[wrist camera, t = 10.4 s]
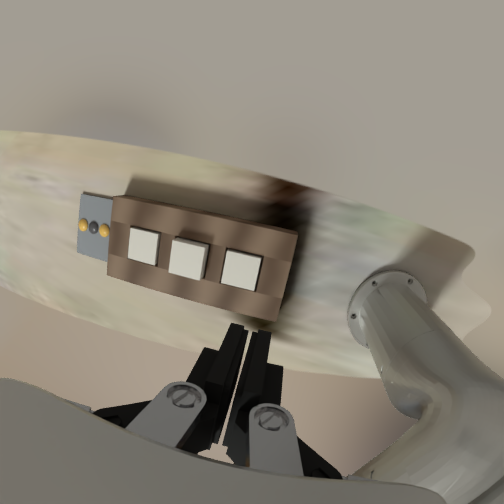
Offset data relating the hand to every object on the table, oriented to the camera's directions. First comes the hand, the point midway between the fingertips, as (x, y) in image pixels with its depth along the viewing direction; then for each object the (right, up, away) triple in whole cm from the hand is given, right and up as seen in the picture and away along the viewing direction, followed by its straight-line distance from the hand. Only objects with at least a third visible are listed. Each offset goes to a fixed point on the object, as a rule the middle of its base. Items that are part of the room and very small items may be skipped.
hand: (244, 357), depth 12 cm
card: (-25, +8, +32) cm, 41 cm away
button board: (-7, +4, +30) cm, 31 cm away
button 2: (-14, +6, +30) cm, 33 cm away
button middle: (-8, +4, +28) cm, 29 cm away
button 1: (-1, +2, +28) cm, 29 cm away
